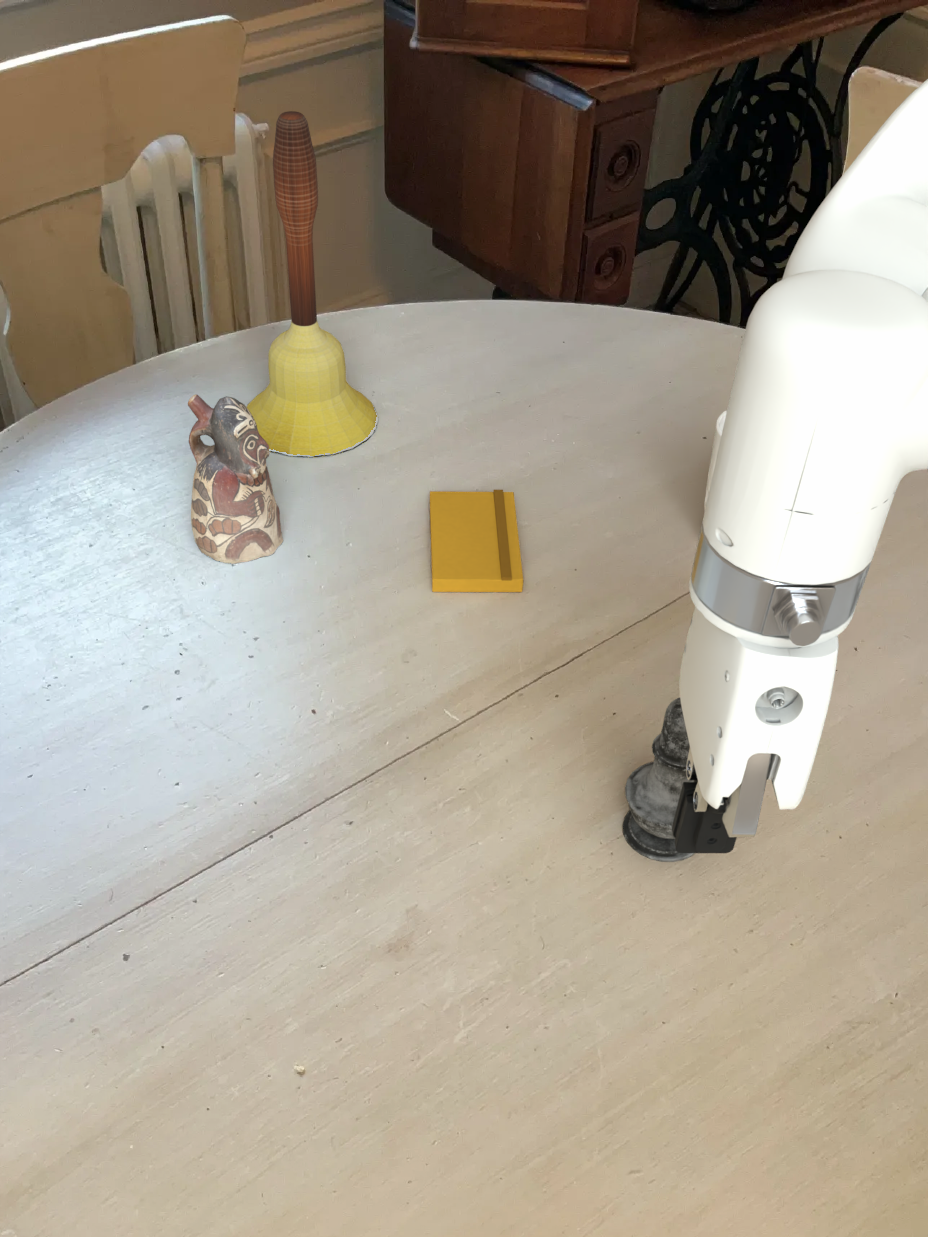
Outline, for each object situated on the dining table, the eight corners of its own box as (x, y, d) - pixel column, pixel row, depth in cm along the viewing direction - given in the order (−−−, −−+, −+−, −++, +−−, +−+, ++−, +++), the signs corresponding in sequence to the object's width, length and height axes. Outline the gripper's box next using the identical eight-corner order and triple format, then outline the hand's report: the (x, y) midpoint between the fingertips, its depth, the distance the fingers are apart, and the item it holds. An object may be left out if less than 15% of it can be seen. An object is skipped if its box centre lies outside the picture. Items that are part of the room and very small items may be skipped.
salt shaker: (609, 801, 83) (634, 661, 74) (696, 795, 84) (731, 656, 75) (627, 868, 80) (656, 729, 71) (718, 862, 80) (758, 723, 71)
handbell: (393, 395, 117) (392, 96, 98) (357, 466, 109) (347, 155, 90) (266, 376, 118) (240, 78, 99) (222, 445, 110) (184, 136, 92)
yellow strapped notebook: (429, 503, 106) (429, 488, 104) (512, 504, 106) (513, 489, 105) (432, 592, 98) (432, 577, 97) (522, 592, 98) (523, 577, 97)
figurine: (260, 572, 99) (246, 433, 90) (178, 552, 100) (156, 413, 91) (296, 522, 103) (286, 385, 94) (217, 504, 105) (200, 367, 96)
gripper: (904, 680, 52) (795, 949, 66) (823, 479, 62) (743, 750, 75) (724, 678, 51) (652, 949, 65) (671, 476, 61) (618, 749, 75)
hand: (701, 842), depth 70 cm, fingers closed
